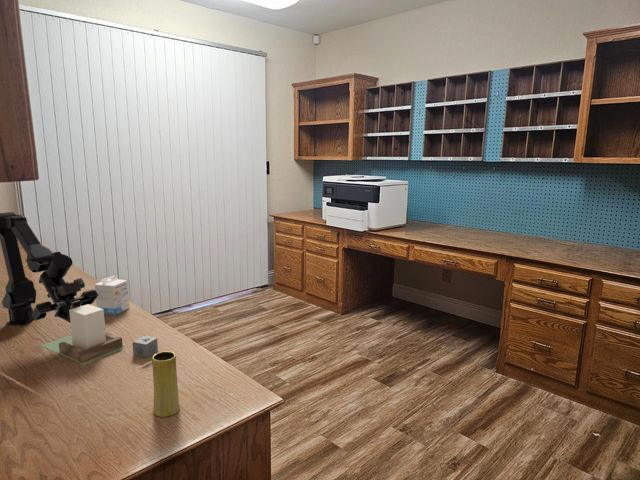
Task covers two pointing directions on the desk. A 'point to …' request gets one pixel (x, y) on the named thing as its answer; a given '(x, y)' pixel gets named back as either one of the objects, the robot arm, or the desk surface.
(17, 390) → the desk surface
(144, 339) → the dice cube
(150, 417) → the desk surface
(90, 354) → the wooden tray
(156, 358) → the vase
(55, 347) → the putting strip
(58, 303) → the robot arm
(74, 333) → the cream block
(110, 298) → the ink box
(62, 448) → the desk surface
